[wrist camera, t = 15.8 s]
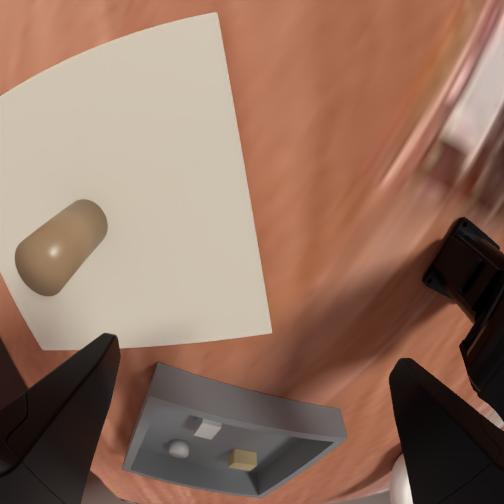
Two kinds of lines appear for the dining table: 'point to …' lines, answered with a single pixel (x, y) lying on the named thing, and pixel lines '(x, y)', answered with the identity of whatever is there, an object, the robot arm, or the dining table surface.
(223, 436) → the tray
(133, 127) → the tub lid
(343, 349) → the dining table surface
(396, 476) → the white shrimp
